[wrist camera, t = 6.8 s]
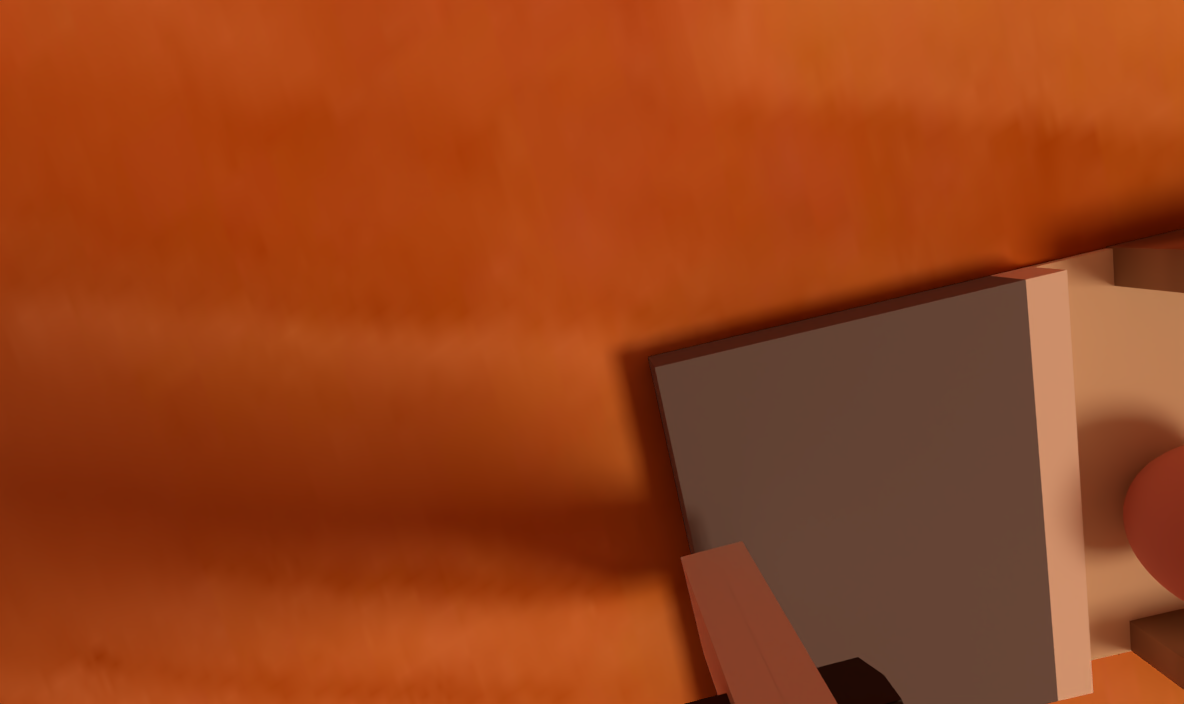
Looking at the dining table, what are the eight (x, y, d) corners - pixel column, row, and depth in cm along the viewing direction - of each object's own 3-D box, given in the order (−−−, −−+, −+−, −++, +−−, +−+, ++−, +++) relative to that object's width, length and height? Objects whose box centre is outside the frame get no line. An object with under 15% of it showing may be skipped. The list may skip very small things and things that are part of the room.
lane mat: (731, 738, 18) (742, 774, 16) (647, 356, 15) (654, 367, 14) (1386, 584, 18) (1445, 610, 16) (1410, 175, 15) (1482, 171, 14)
